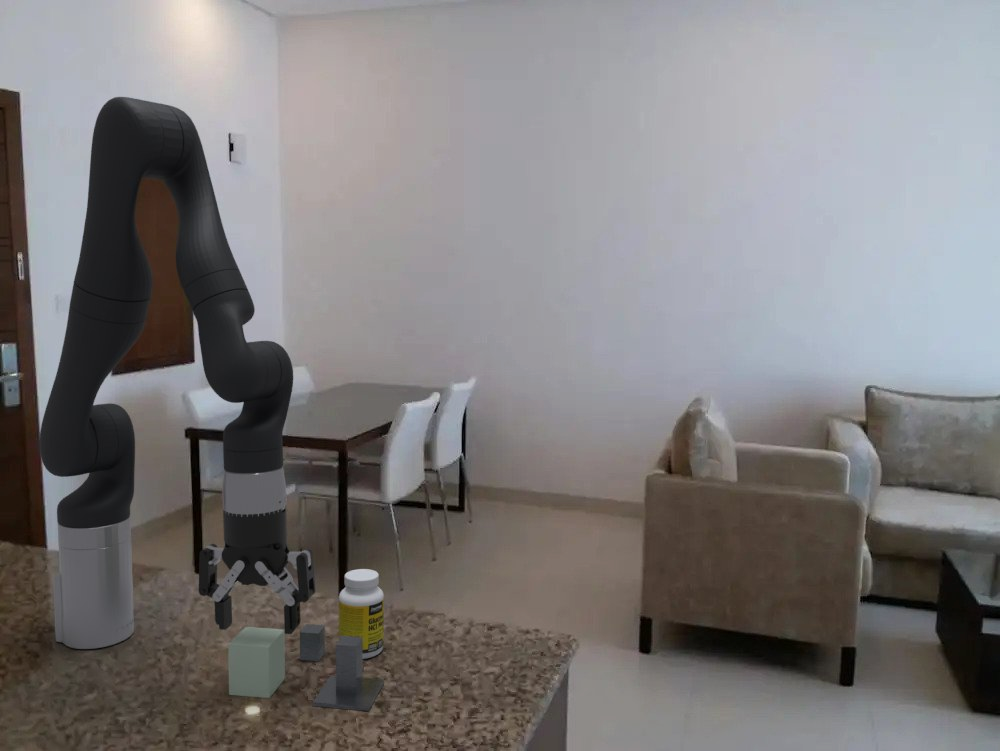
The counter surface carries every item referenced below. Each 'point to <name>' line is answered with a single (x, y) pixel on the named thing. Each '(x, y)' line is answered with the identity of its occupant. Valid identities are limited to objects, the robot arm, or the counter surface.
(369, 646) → the pill bottle
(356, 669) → the post on square base
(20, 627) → the counter surface
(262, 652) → the pale green block
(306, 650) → the short post
